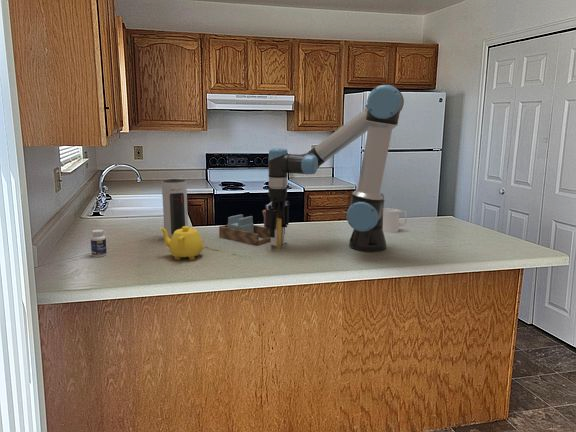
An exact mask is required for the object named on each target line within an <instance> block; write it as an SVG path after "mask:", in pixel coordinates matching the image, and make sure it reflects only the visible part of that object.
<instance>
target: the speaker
mask: <svg viewBox="0 0 576 432" xmlns="http://www.w3.org/2000/svg"><path fill="white" fill-rule="evenodd" d="M187 189H188V188H187V180H186V179H177V178H170V179H165V180H161V193H162V194H161V195H162V212H163V228H164V229H166V230H167V233H168V237H169V238H170V239H171V238H172V236H173V233H174V232H175V231H176V230H178V229H182V227H183V226H188V227H189V216H188V215H189V214H188V213H189V212H188V194H187V193H188V190H187Z"/></svg>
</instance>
